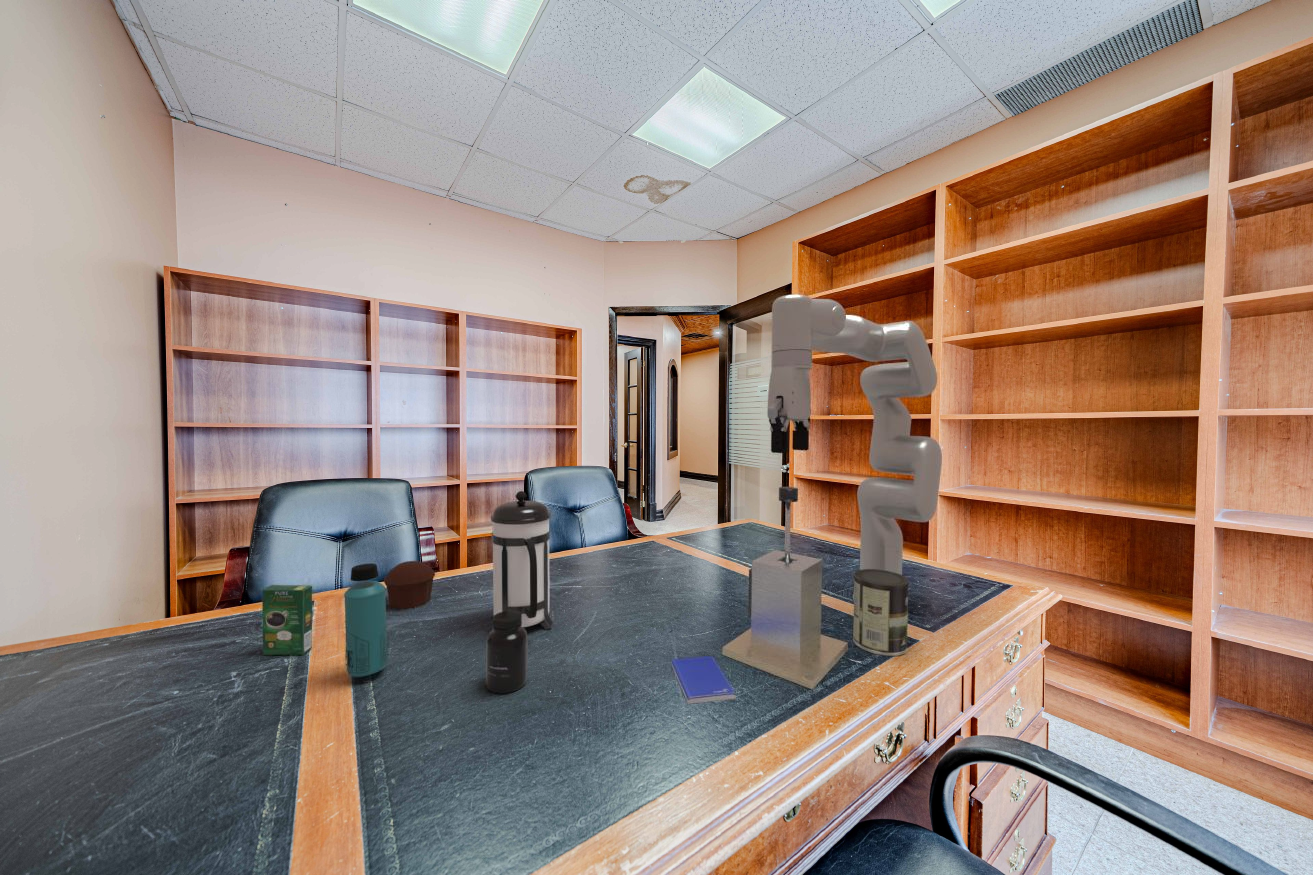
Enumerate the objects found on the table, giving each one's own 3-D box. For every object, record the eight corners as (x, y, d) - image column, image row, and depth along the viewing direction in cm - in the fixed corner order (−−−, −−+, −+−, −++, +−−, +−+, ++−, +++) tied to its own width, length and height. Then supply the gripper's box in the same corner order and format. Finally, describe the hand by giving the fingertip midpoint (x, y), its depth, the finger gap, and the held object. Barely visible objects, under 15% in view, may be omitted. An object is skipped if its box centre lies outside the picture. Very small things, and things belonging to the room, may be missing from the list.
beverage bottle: (396, 669, 86) (395, 561, 85) (363, 689, 79) (361, 573, 79) (370, 663, 88) (368, 558, 87) (335, 682, 81) (333, 568, 81)
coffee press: (467, 634, 100) (466, 494, 98) (516, 606, 114) (515, 484, 113) (535, 650, 93) (534, 500, 92) (577, 618, 108) (577, 489, 107)
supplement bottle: (489, 699, 77) (488, 627, 76) (483, 678, 83) (483, 612, 82) (531, 688, 80) (531, 619, 79) (523, 669, 86) (522, 605, 85)
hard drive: (736, 692, 77) (712, 655, 89) (688, 697, 76) (671, 659, 88) (735, 701, 77) (712, 663, 90) (688, 706, 76) (671, 667, 88)
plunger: (778, 564, 97) (780, 484, 96) (810, 571, 92) (812, 488, 92) (763, 572, 92) (764, 488, 91) (796, 580, 87) (797, 492, 86)
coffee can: (898, 635, 100) (900, 570, 100) (914, 659, 90) (916, 587, 90) (847, 630, 102) (849, 566, 102) (858, 653, 92) (859, 583, 92)
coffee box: (315, 648, 93) (313, 583, 93) (304, 655, 91) (302, 588, 90) (273, 648, 93) (271, 583, 93) (261, 656, 90) (259, 589, 90)
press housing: (765, 624, 105) (766, 542, 105) (847, 650, 94) (849, 558, 93) (722, 654, 92) (723, 561, 91) (812, 689, 80) (814, 582, 79)
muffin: (375, 604, 116) (374, 564, 115) (419, 590, 125) (419, 553, 124) (399, 616, 109) (399, 573, 108) (444, 600, 118) (444, 561, 118)
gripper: (791, 367, 99) (790, 448, 100) (752, 359, 86) (751, 453, 87) (827, 364, 94) (826, 449, 95) (790, 356, 81) (789, 455, 82)
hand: (790, 451), depth 91 cm, fingers open, 9 cm apart
